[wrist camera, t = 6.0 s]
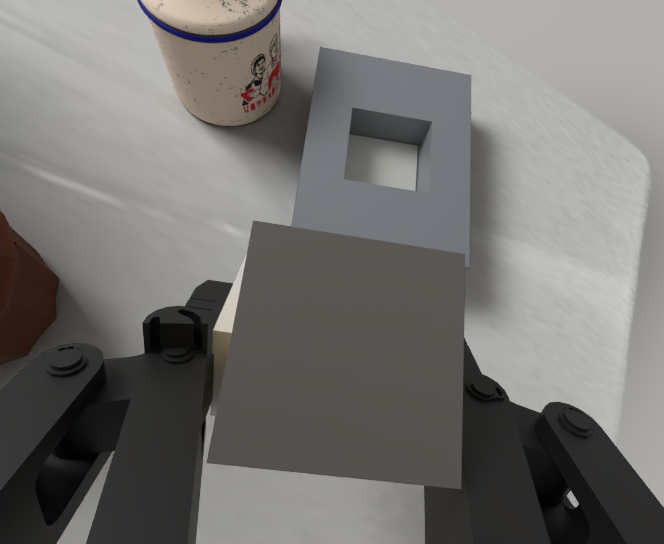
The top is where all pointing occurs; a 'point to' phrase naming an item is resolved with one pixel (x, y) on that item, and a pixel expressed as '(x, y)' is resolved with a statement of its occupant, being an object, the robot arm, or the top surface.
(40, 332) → the muffin
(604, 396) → the top surface
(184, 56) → the teacup with lid
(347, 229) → the socket plate
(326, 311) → the plug
